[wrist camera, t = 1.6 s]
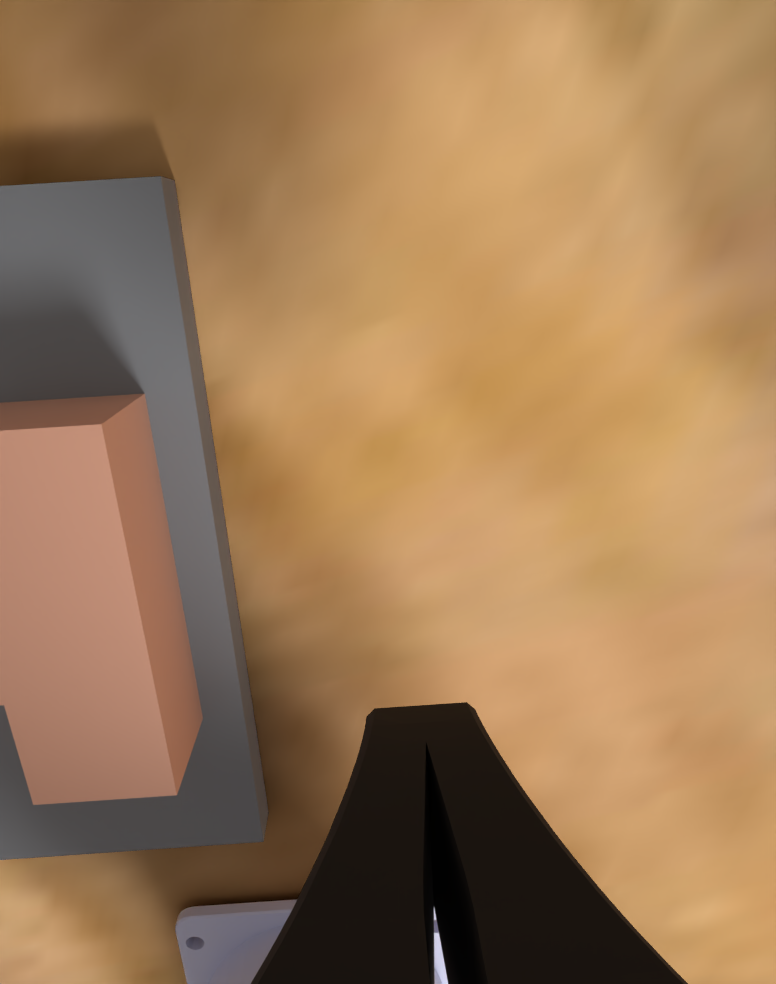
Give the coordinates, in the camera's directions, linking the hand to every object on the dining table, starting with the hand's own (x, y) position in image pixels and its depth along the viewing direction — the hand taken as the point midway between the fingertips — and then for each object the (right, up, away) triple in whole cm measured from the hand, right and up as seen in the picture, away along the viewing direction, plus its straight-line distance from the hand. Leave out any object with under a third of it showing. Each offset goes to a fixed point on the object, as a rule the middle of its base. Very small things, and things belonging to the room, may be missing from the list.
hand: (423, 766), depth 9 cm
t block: (-9, +2, +6) cm, 11 cm away
